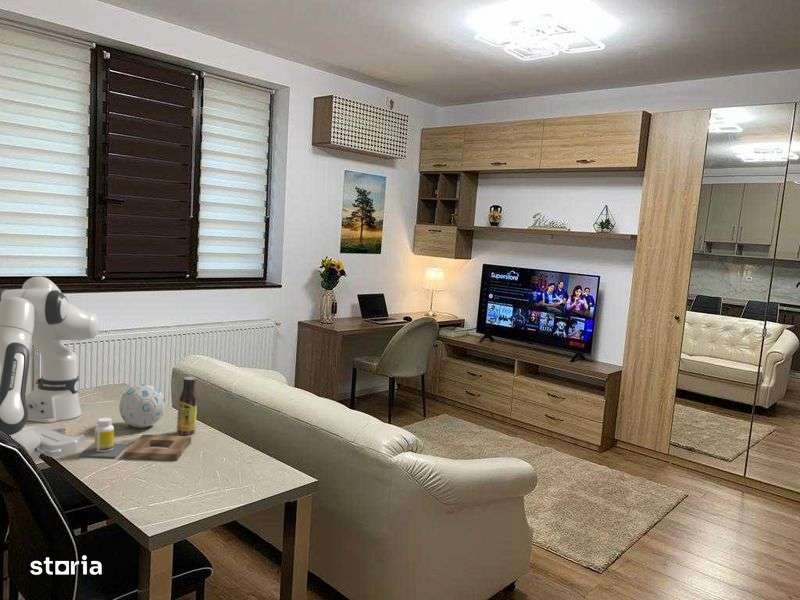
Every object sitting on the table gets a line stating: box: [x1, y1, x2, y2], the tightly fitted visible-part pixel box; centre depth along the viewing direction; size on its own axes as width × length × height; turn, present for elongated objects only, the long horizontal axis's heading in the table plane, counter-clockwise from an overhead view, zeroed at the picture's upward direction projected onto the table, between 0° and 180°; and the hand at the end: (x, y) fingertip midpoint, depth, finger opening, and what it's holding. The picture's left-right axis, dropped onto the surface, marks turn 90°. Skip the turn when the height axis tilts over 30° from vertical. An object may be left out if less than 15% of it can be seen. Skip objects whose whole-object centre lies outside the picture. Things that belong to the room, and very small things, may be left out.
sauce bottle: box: [176, 376, 198, 436], centre depth 213 cm, size 7×6×20 cm
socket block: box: [123, 434, 192, 461], centre depth 197 cm, size 16×16×2 cm
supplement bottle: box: [94, 417, 115, 452], centre depth 192 cm, size 5×5×10 cm
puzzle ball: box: [118, 384, 166, 429], centre depth 217 cm, size 15×15×15 cm
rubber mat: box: [78, 442, 130, 459], centre depth 193 cm, size 11×11×1 cm
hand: (73, 434), depth 183 cm, fingers open, 8 cm apart
